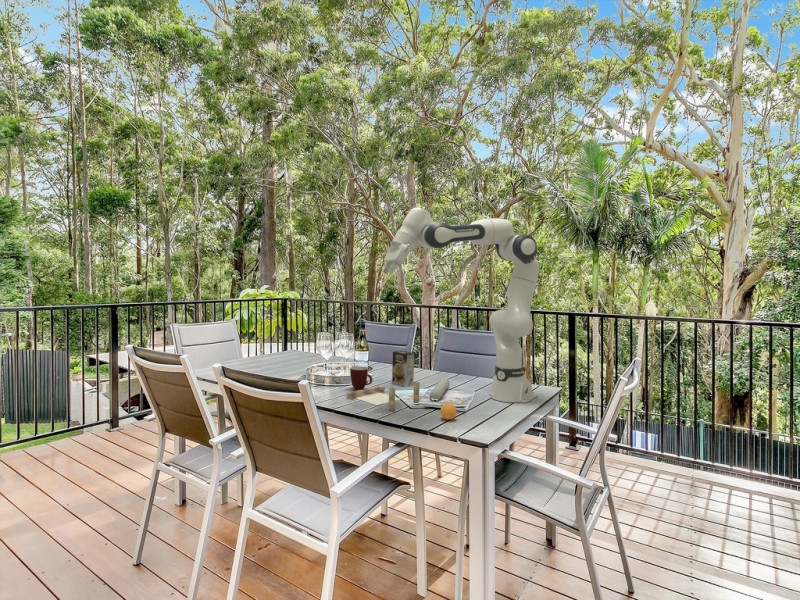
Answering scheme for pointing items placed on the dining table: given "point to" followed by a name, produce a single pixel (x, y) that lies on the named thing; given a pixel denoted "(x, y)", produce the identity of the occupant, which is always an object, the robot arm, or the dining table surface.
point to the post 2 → (416, 392)
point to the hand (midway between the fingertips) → (387, 272)
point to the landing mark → (376, 398)
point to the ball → (448, 411)
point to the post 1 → (391, 399)
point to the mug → (359, 377)
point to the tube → (440, 388)
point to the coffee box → (403, 368)
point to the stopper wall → (365, 392)
